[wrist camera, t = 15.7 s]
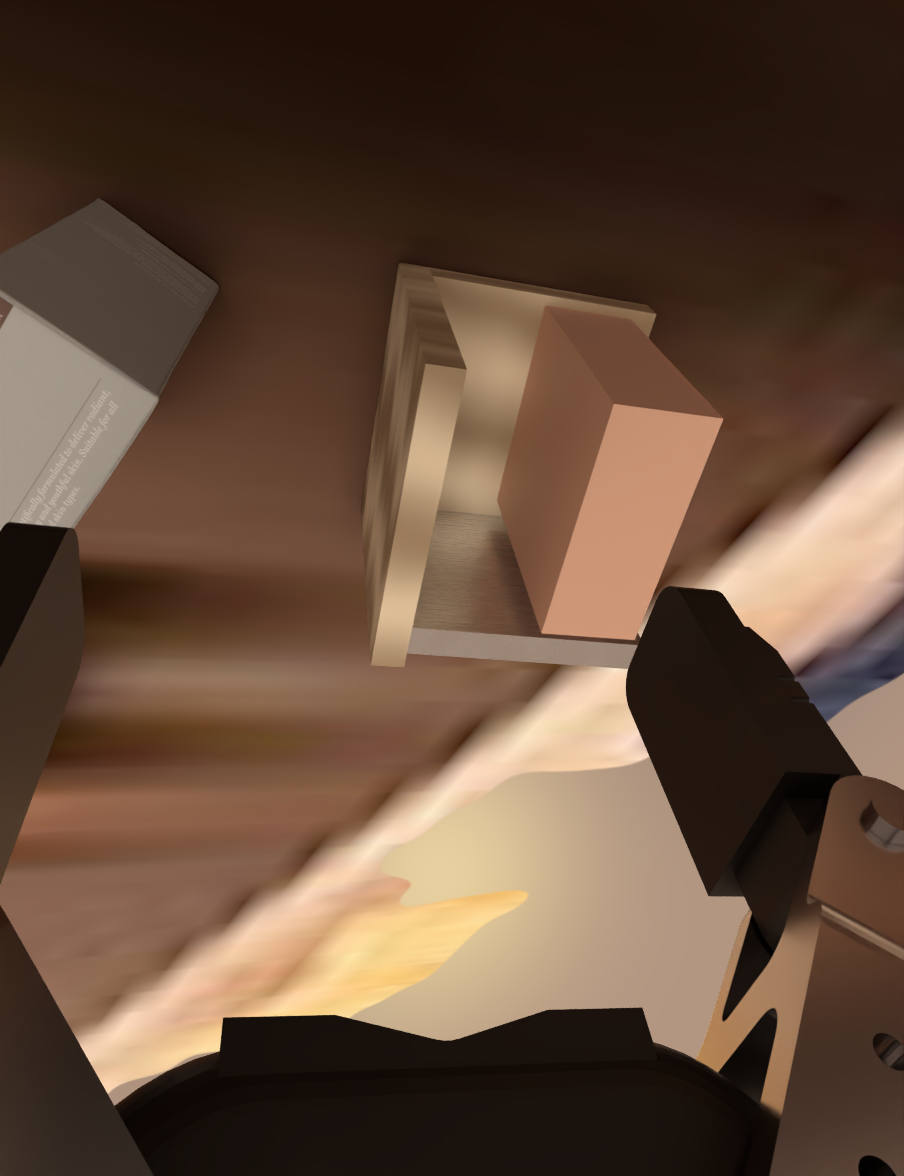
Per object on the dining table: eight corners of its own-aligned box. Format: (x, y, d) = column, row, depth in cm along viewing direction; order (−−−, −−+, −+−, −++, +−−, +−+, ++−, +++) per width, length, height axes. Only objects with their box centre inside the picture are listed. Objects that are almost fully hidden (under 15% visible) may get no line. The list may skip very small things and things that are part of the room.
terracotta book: (545, 305, 40) (613, 403, 30) (630, 318, 41) (723, 418, 31) (496, 499, 46) (541, 633, 37) (571, 508, 47) (634, 640, 37)
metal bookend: (392, 504, 46) (407, 627, 37) (585, 525, 48) (643, 645, 39) (388, 527, 46) (402, 652, 38) (578, 547, 49) (634, 669, 40)
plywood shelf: (398, 261, 39) (425, 363, 29) (647, 305, 42) (757, 412, 31) (360, 511, 47) (370, 665, 36) (572, 533, 50) (640, 683, 39)
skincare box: (141, 410, 42) (61, 589, 29) (2, 325, 39) (-156, 485, 26) (230, 278, 39) (182, 415, 26) (86, 173, 36) (-48, 271, 23)
